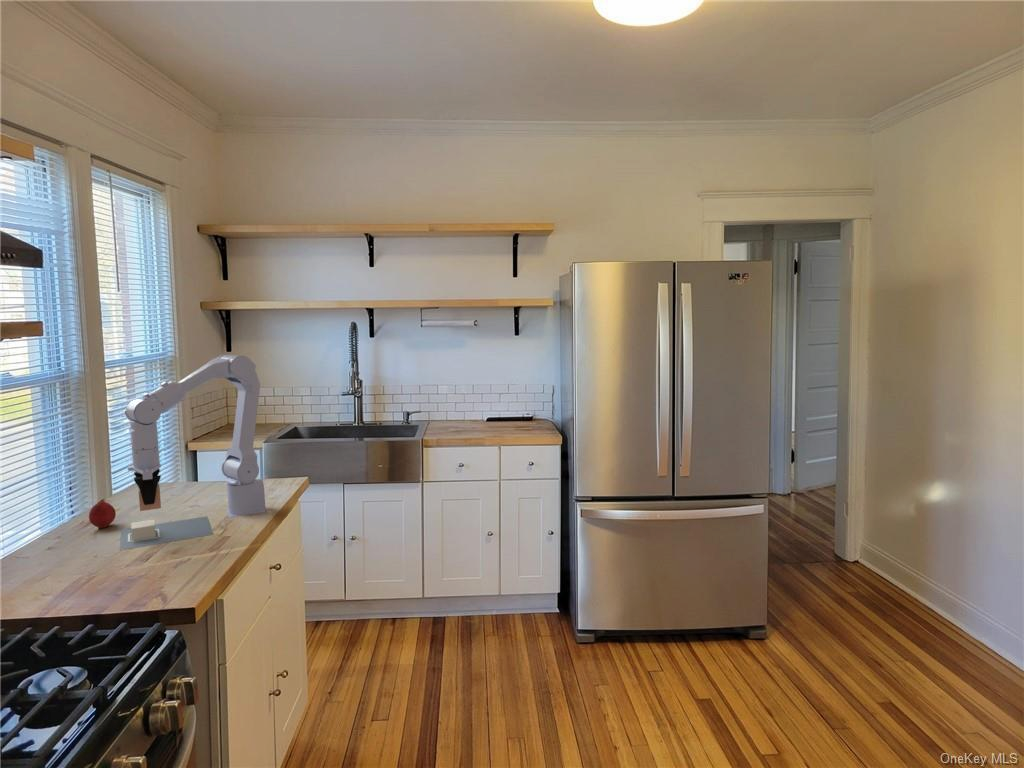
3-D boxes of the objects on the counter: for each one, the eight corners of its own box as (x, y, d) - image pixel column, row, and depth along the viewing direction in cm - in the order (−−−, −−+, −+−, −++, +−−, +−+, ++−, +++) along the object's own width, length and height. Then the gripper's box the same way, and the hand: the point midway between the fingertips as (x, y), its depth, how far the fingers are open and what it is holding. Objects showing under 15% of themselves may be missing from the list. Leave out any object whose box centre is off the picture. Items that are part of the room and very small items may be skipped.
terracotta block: (160, 503, 162) (159, 484, 162) (161, 508, 158) (159, 488, 158) (139, 506, 160) (138, 486, 159) (140, 511, 156) (138, 491, 156)
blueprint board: (207, 518, 174) (206, 505, 173) (213, 536, 160) (212, 522, 160) (121, 531, 164) (120, 518, 163) (120, 552, 150) (118, 537, 150)
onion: (103, 533, 163) (101, 503, 162) (84, 532, 164) (81, 501, 163) (121, 525, 168) (119, 496, 167) (103, 524, 169) (100, 495, 168)
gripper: (126, 444, 162) (130, 496, 163) (126, 455, 149) (130, 512, 151) (158, 441, 165) (161, 492, 167) (160, 452, 153) (164, 507, 154)
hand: (149, 501), depth 159 cm, fingers closed on terracotta block, 4 cm apart
